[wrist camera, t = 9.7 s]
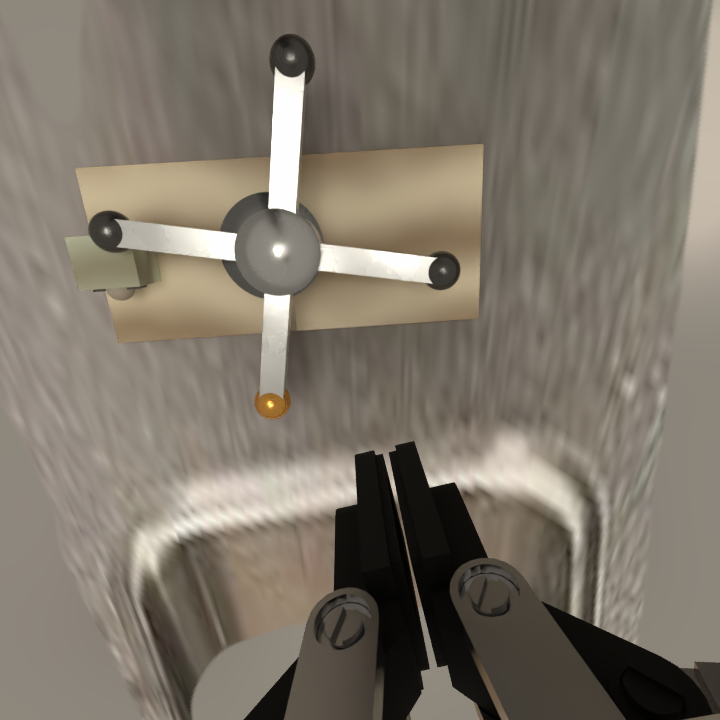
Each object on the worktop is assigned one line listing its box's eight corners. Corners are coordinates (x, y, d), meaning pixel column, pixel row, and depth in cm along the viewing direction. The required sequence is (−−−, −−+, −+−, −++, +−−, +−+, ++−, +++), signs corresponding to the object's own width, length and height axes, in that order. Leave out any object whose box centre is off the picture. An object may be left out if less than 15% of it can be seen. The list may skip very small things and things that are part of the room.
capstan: (473, 93, 24) (509, 55, 19) (419, 406, 30) (434, 443, 25) (118, 39, 23) (52, -18, 17) (135, 380, 28) (89, 413, 23)
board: (86, 171, 26) (39, 160, 22) (477, 147, 26) (501, 132, 22) (127, 338, 29) (92, 355, 25) (473, 315, 30) (493, 328, 26)
